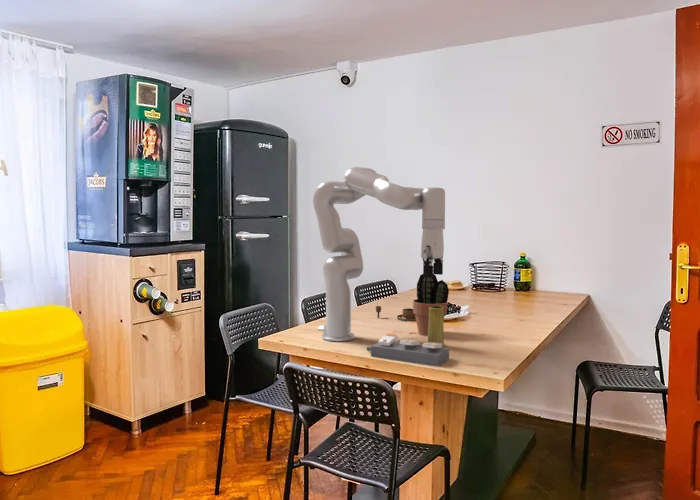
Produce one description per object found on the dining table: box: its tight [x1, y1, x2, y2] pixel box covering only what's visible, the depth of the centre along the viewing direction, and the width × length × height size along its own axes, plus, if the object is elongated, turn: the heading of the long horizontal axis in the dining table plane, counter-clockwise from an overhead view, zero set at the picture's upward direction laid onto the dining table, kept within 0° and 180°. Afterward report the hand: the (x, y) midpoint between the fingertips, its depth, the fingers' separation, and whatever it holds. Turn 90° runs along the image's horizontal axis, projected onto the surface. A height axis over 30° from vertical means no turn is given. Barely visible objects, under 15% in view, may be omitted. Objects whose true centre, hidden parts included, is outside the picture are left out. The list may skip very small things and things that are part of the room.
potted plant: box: [412, 273, 450, 337], centre depth 214 cm, size 14×14×25 cm
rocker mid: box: [399, 338, 420, 345], centre depth 180 cm, size 4×7×1 cm, turn 150°
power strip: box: [366, 340, 450, 367], centre depth 181 cm, size 28×10×4 cm, turn 60°
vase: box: [427, 306, 445, 348], centre depth 195 cm, size 6×6×14 cm
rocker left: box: [377, 333, 399, 346], centre depth 184 cm, size 4×7×1 cm, turn 150°
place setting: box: [375, 305, 416, 322], centre depth 246 cm, size 18×20×6 cm
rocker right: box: [422, 342, 442, 348], centre depth 176 cm, size 4×7×1 cm, turn 150°
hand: (433, 275), depth 181 cm, fingers open, 9 cm apart
